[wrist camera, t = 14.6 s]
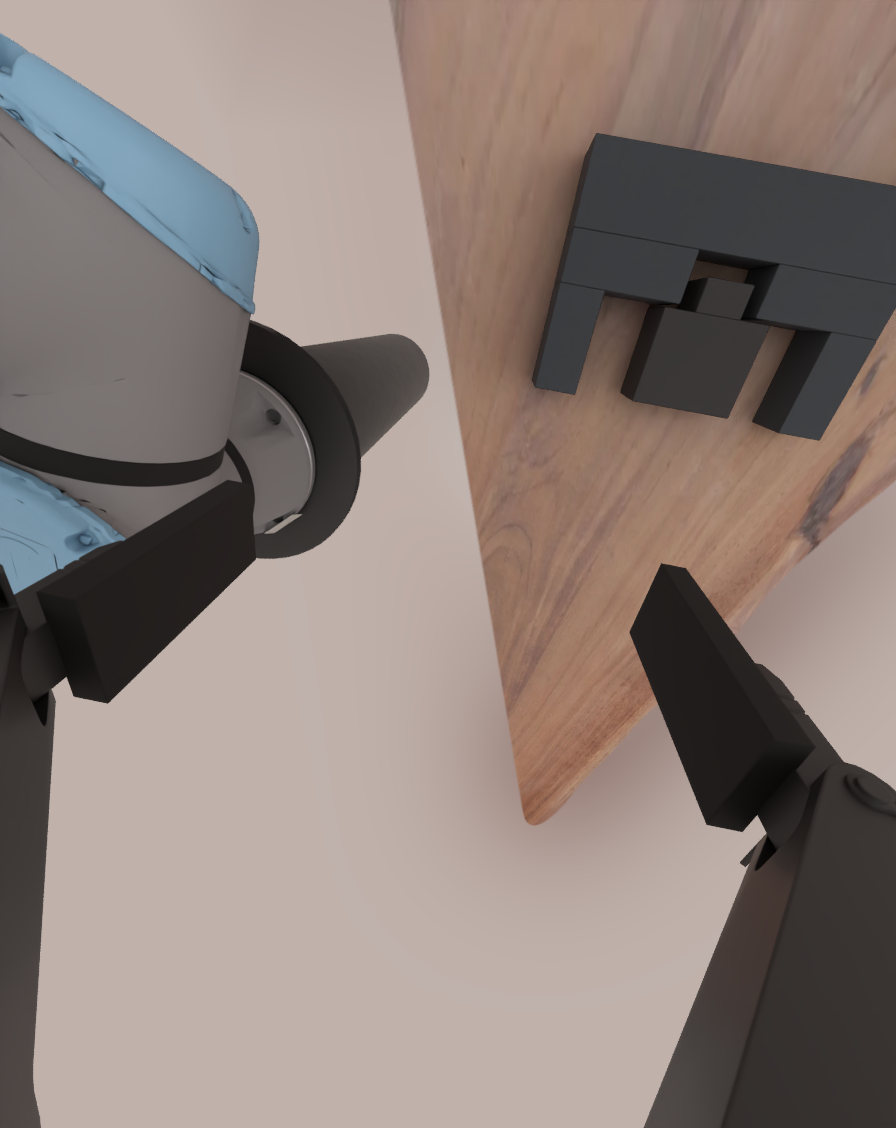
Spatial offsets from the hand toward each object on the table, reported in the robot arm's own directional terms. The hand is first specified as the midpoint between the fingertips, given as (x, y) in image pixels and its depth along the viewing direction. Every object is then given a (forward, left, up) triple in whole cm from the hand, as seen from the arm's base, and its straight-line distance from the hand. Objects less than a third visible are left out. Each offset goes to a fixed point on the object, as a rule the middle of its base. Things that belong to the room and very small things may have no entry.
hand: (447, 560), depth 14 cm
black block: (+14, +6, -27) cm, 31 cm away
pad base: (+14, +10, -27) cm, 32 cm away
